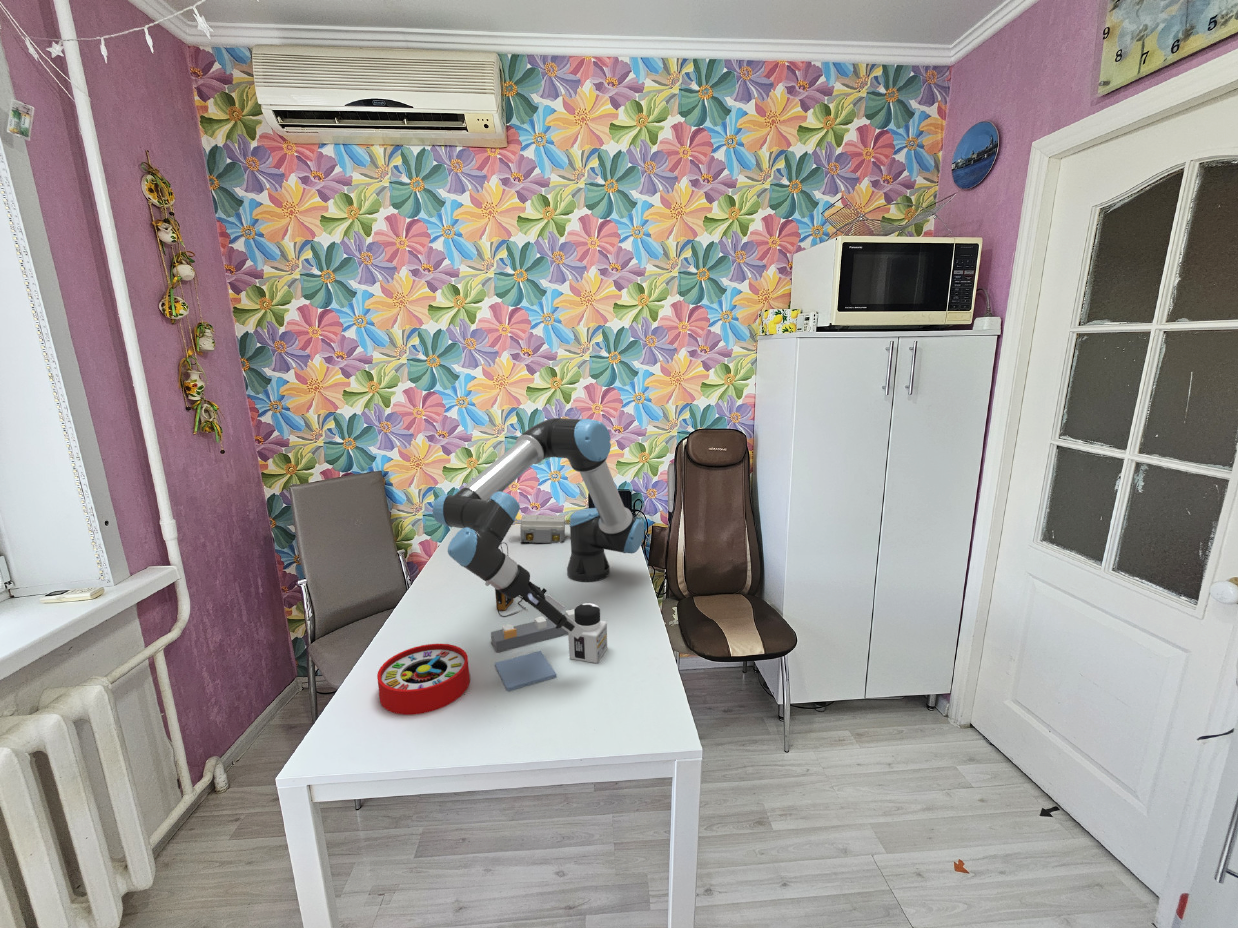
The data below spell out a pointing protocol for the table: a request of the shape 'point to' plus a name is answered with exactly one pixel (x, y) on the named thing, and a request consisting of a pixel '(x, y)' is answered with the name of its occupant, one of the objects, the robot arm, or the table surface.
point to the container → (588, 634)
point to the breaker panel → (527, 633)
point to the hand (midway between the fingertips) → (570, 621)
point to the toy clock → (423, 679)
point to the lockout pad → (524, 670)
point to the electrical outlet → (542, 528)
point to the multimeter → (504, 598)
